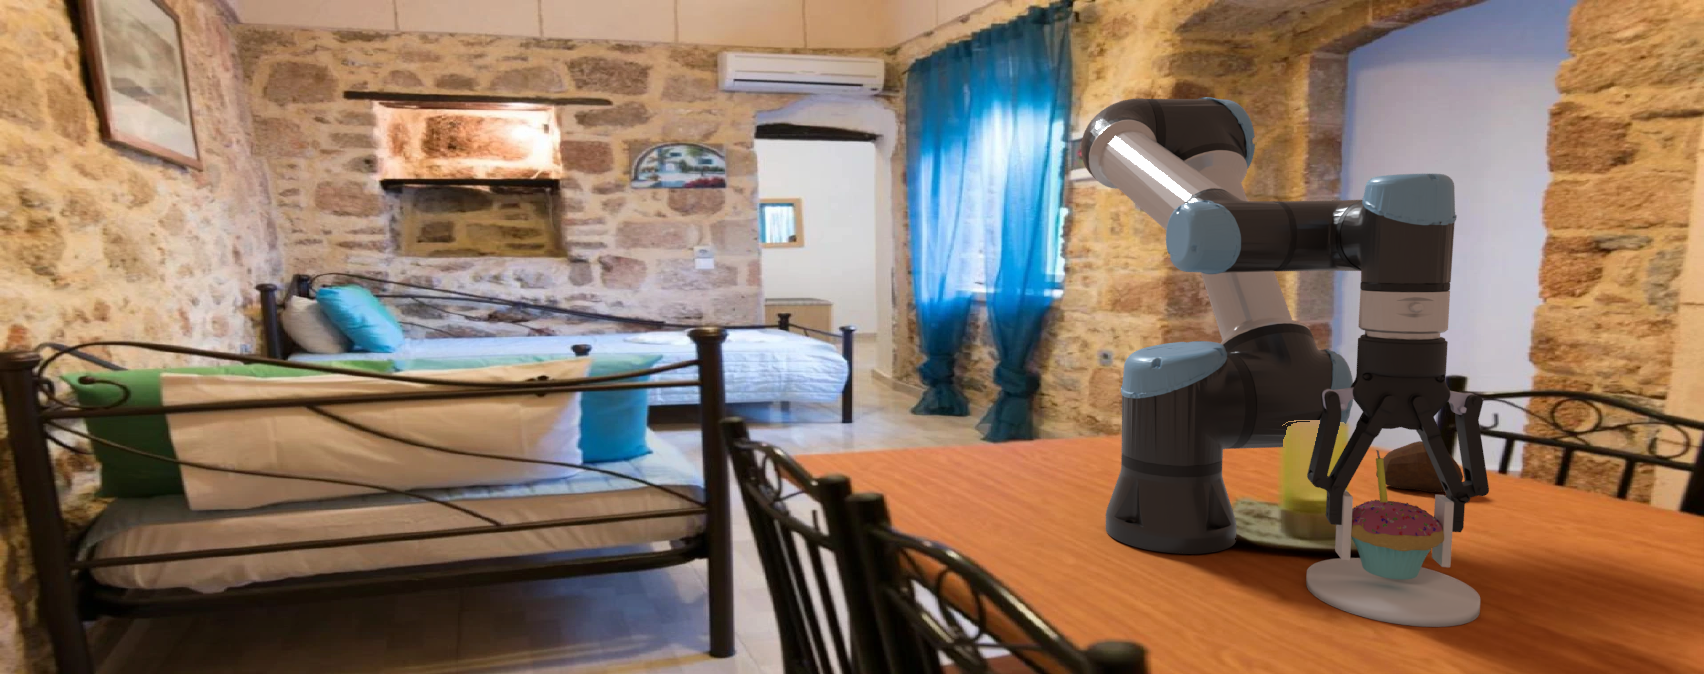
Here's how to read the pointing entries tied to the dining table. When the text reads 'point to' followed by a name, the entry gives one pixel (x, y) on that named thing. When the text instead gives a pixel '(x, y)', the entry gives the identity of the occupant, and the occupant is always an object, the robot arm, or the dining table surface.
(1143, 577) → the dining table surface
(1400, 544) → the cupcake
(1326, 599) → the plate
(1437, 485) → the potato
